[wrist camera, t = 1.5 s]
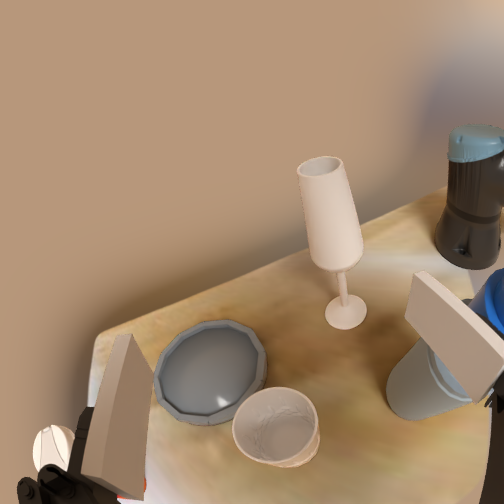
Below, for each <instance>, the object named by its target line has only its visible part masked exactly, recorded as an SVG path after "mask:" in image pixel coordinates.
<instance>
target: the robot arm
mask: <svg viewBox="0 0 504 504" xmlns="http://www.w3.org/2000/svg"><path fill="white" fill-rule="evenodd" d="M448 146H449V147H448V153H447V157H448V159H449V171H448V173H449V174H448V191H447V204H446V207H445V209H444V211H443V214H442V216H441V219H440V221H439V222H438V224H437V227H436V233H435V244H436V247H437V249H438V250H439V252H440V253H441V254H442V255H443V256H444V257H445V258H446V259H447V260H448V261H450V262H451V263H453V264H455V265H457V266H459V267H462V268H466V269H471V270H481V269H485V268H488V267H490V266H492V265H493V264H494V263H495V262H496V260H497V258H498V255H499V252H500V248H501V239H500V214H501V209H502V207H504V130H503V129H501V128H499V127H493V126H491V125H485V124H467V125H462V126H458V127H456V128H455V129H453V130H452V131H451V133H450V134H449V145H448ZM404 318H405V319H406V320H407V321H408V322H409V323H410V325H411V326H412V327H413V328H414V329H415V330H416V331H417V332H418V334H419V335H420V336H421V337H422V338H423V339H424V341H425V342H426V343H427V344H428V345H429V346H430V348H431V349H432V350H433V351H434V352H435V354H436V355H437V356H438V357H439V358H440V360H441V361H442V362H443V363H444V365H445V366H446V367H447V368H448V370H449V371H450V372H451V373H452V375H453V376H454V377H455V378H456V380H457V381H458V382H459V384H460V385H461V386H462V387H463V389H464V390H465V391H466V393H467V394H468V395H469V397H470V398H471V399H472V401H473V402H474V404H475V405H476V404H477V403H478V402H480V401H481V400H482V399H483V398H485V397H486V396H487V394H488V393H489V392H490V390H491V389H492V388H493V389H494V392H493V393H492V394H491V396H490V397H489V398H488V400H487V401H486V403H485V406H484V407H487V406H488V404H489V403H490V402H491V401H492V402H491V404H490V405H489V407H492V423H491V438H490V448H489V456H488V463H487V469H486V475H485V480H484V486H483V490H482V494H481V498H480V502H479V504H504V334H503V333H502V332H501V331H500V330H498V328H497V327H496V326H495V325H493V323H492V322H490V321H489V320H488V319H487V318H486V317H485V316H483V315H481V314H479V313H477V312H476V313H474V312H473V311H472V310H471V309H470V308H469V307H468V306H467V305H465V304H464V303H463V302H462V301H461V300H460V299H459V298H457V297H456V296H455V295H454V294H453V293H452V292H450V291H449V290H448V289H447V288H446V287H444V286H443V285H442V284H441V283H440V282H438V281H437V280H436V279H435V278H433V277H432V276H431V275H430V274H429V273H427V272H426V271H425V270H423V271H420V272H417V273H414V274H413V279H412V284H411V289H410V294H409V299H408V304H407V308H406V312H405V317H404ZM153 379H154V373H153V372H152V370H151V368H150V367H149V365H148V363H147V361H146V359H145V358H144V356H143V354H142V352H141V350H140V348H139V347H138V345H137V343H136V341H135V339H134V337H133V335H132V334H124V335H117V336H116V339H115V342H114V345H113V348H112V351H111V354H110V357H109V360H108V363H107V366H106V369H105V372H104V376H103V379H102V382H101V386H100V389H99V393H98V396H97V400H96V404H95V407H86V408H85V410H84V411H83V413H82V414H81V415H80V417H79V421H78V425H77V430H76V432H75V436H74V437H75V439H74V441H73V445H72V449H71V454H70V459H69V464H68V469H67V472H66V471H65V470H63V469H62V468H60V467H59V466H57V465H56V464H47V465H44V466H43V467H42V468H41V469H40V471H39V473H38V479H37V481H38V482H36V481H35V480H33V479H31V478H30V477H24V478H22V479H21V480H20V481H19V482H18V486H17V494H18V500H19V504H121V503H120V502H119V501H118V500H117V495H119V496H121V497H123V498H125V499H133V500H141V501H144V473H145V455H146V442H147V430H148V420H149V411H150V402H151V394H152V387H153Z"/></svg>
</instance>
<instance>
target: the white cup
mask: <svg viewBox="0 0 504 504" xmlns="http://www.w3.org/2000/svg"><path fill="white" fill-rule="evenodd" d="M232 434H233V438H234V441H235V443H236V445H237V447H238V448H239V449H240V451H241V452H242V453H243V454H245V455H246V456H247V457H249V458H251V459H253V460H255V461H258V462H262V463H265V464H269V465H272V466H277V467H298V466H301V465H303V464H305V463H307V462H309V461H310V460H311V459H312V458H313V457H314V456H315V454H316V453H317V451H318V447H319V444H320V429H319V422H318V416H317V412H316V409H315V407H314V405H313V403H312V402H311V401H310V399H309V398H308V397H306V396H305V395H304V394H303V393H301V392H299V391H297V390H295V389H291V388H287V387H271V388H267V389H263V390H261V391H258V392H256V393H254V394H253V395H251V396H250V397H248V398H247V399H246V400H245V401H244V402H243V403H242V404H241V405H240V407H239V408H238V410H237V411H236V413H235V416H234V419H233V423H232Z"/></svg>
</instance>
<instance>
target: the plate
mask: <svg viewBox="0 0 504 504" xmlns="http://www.w3.org/2000/svg"><path fill="white" fill-rule="evenodd" d="M266 376H267V354H266V351H265V349H264V348H263V346H262V344H261V343H260V341H259V339H258V338H257V336H256V334H255V333H254V331H253V330H252V329H251V328H248V327H246V326H244V325H241V324H239V323H237V322H234V321H232V320H229V319H228V320H216V321H204V323H203V322H201V323H199V324H197V325H195V326H193V327H191V328H189V329H187V330H185V331H183V332H181V333H180V335H179V334H178V335H177V336H176V337H175V338H174V340H173V341H172V342H171V343H170V344H169V345H168V346H167V347H166V348H165V349H164V350H163V352H162V354H160V357H159V360H158V363H157V366H156V369H155V372H154V379H153V383H154V388H155V392H156V397H157V401H158V403H159V404H160V405H161V406H162V407H164V408H165V409H166V410H167V411H168V412H169V413H170V414H171V415H172V416H174V417H175V418H176V419H177V420H179V421H181V422H186V423H189V424H193V425H198V426H211V425H217V424H221V423H224V422H227V421H230V420H232V419H234V416H235V413H236V411H237V410H238V408H239V407H240V405H241V404H242V403H243V402H244V401H245V400H246V399H247V398H248V397H250V396H251V395H253V394H254V393H256V392H258V391H261V390H262V388H263V386H264V384H265V380H266Z"/></svg>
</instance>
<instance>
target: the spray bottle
mask: <svg viewBox="0 0 504 504" xmlns="http://www.w3.org/2000/svg"><path fill="white" fill-rule="evenodd" d="M461 301H462V302H463V303H464V304H465V305H467V306H468V307H469V308H470V309H471V310H472V311H473V312H474V313H476V312H477V313H479V314H481V315H483V316H485V317H486V318H487V319H488V320H489V321H490V322H492V323H493V325H495V326H496V327H497V328H498V330H500V331H501V332H502V333H503V334H504V268H503V269H499V270H496V271H495V272H494V273H493V274H492V275H491V276H490V277H489V278H488V279H487V281H486V283H485V284H484V285H483V286H482V288H481V289H480V290H479V292H478V293H477V294H476V296H475V297H474V298H473V299H464V300H461ZM492 390H493V388H492V389H491V390H490V392H491V391H492ZM490 392H489V393H490ZM489 393H488V394H489ZM386 394H387V401H388V403H389V405H390V407H391V409H392V410H393V411H394V412H395V413H396V414H397V415H398V416H399V417H402V418H404V419H406V420H422V419H425V418H429V417H432V416H435V415H438V414H441V413H444V412H447V411H450V410H453V409H456V408H458V407H461V406H464V405H466V404H469V403H471V402H473V401H472V399H471V398H470V397H469V395H468V394H467V393H466V391H465V390H464V389H463V387H462V386H461V385H460V384H459V382H458V381H457V380H456V378H455V377H454V376H453V375H452V373H451V372H450V371H449V370H448V368H447V367H446V366H445V365H444V363H443V362H442V361H441V360H440V358H439V357H438V356H437V355H436V354H435V352H434V351H433V350H432V349H431V348H430V346H429V345H428V344H427V343H426V342H425V341H424V339H423V338H422V337H421V338H420V339H419V340H418V341H417V342H416V344H415V345H414V346H413V347H412V348H411V349H410V350H409V352H408V353H407V354H406V355H405V356H404V357H403V358H402V359H401V360H400V361H399V362H398V364H397V365H396V366H395V367H394V368H393V369H392V371H391V373H390V375H389V377H388V380H387V386H386ZM488 394H487V395H488Z"/></svg>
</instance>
